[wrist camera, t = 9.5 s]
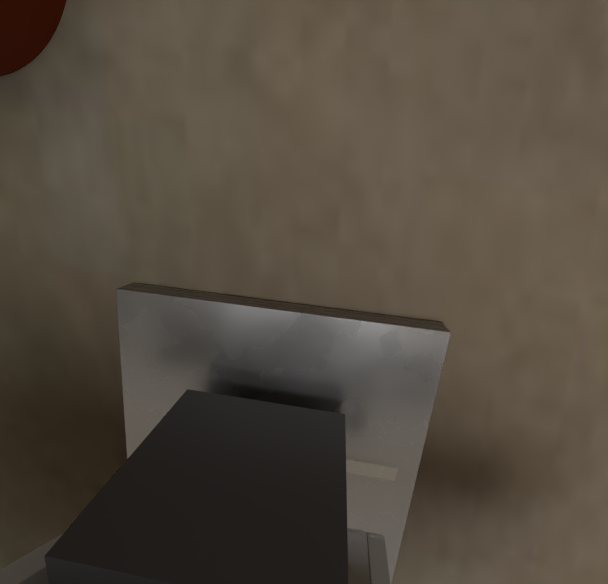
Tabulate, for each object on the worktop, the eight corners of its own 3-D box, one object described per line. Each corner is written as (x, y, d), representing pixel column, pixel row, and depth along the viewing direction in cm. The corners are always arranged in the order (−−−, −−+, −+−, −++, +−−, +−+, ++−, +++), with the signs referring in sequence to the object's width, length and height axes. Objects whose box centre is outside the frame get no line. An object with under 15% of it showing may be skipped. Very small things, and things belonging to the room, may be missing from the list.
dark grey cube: (187, 389, 11) (29, 574, 6) (345, 414, 11) (349, 644, 5) (187, 526, 13) (64, 777, 7) (323, 553, 12) (307, 843, 7)
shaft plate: (145, 514, 16) (70, 629, 11) (133, 282, 13) (23, 321, 8) (387, 562, 15) (406, 709, 10) (441, 322, 12) (501, 390, 7)
